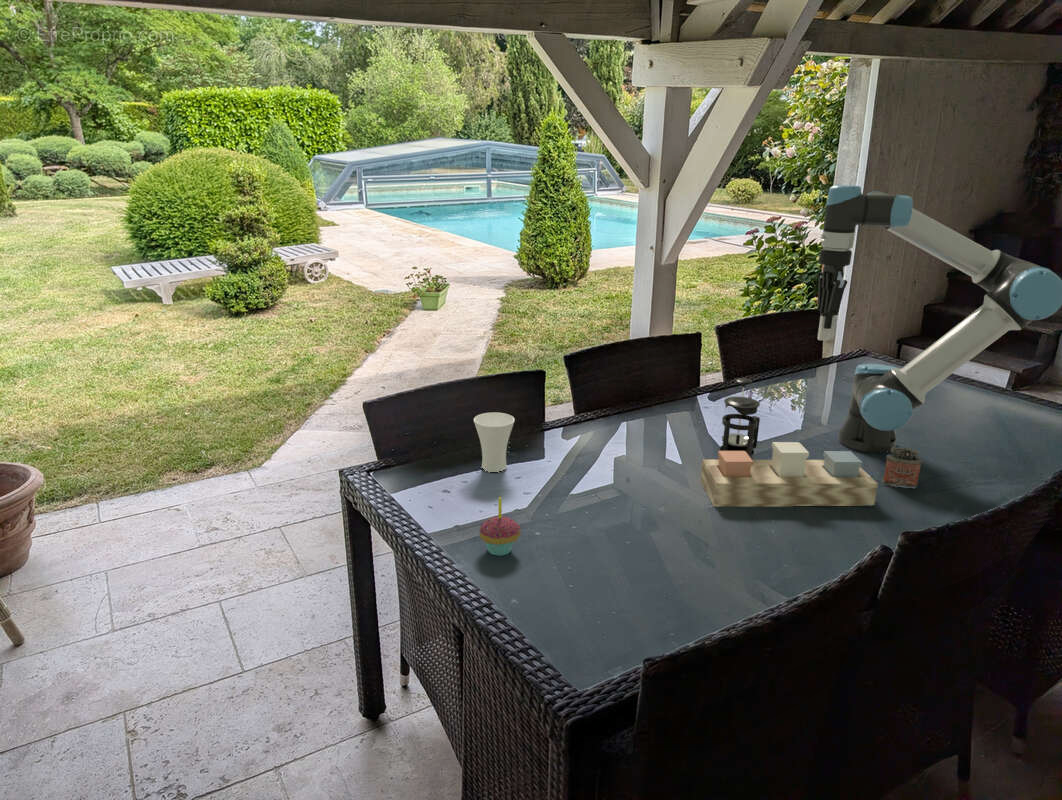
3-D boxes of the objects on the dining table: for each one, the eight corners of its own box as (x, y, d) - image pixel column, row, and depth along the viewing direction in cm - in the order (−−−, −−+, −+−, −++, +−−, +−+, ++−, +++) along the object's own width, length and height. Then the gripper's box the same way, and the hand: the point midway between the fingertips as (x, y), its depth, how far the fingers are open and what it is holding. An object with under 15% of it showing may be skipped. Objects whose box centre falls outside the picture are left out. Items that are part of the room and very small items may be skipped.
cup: (521, 464, 202) (521, 416, 198) (503, 479, 193) (503, 429, 189) (485, 457, 206) (485, 409, 202) (466, 471, 197) (465, 422, 193)
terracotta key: (742, 474, 189) (745, 450, 187) (750, 486, 183) (753, 461, 181) (715, 474, 189) (718, 450, 187) (722, 486, 183) (725, 461, 181)
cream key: (795, 466, 189) (799, 442, 187) (805, 477, 183) (809, 452, 181) (769, 466, 189) (772, 442, 187) (778, 477, 182) (781, 452, 180)
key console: (849, 481, 195) (852, 459, 193) (873, 506, 182) (877, 483, 180) (700, 481, 194) (702, 459, 192) (714, 506, 180) (716, 483, 178)
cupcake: (479, 540, 164) (478, 489, 160) (519, 539, 164) (519, 488, 160) (480, 561, 156) (479, 508, 152) (522, 560, 156) (522, 507, 152)
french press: (732, 471, 200) (742, 387, 192) (708, 458, 207) (716, 377, 200) (765, 463, 205) (775, 381, 198) (740, 451, 213) (749, 371, 206)
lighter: (916, 485, 194) (923, 448, 190) (917, 490, 190) (925, 453, 187) (881, 480, 196) (887, 443, 193) (882, 485, 193) (889, 448, 190)
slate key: (846, 475, 190) (850, 451, 188) (858, 486, 184) (862, 461, 182) (820, 475, 190) (823, 451, 188) (830, 486, 184) (834, 461, 182)
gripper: (811, 245, 200) (800, 333, 207) (831, 252, 187) (818, 346, 195) (840, 245, 200) (827, 333, 207) (862, 252, 188) (848, 346, 195)
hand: (823, 339), depth 201 cm, fingers closed
